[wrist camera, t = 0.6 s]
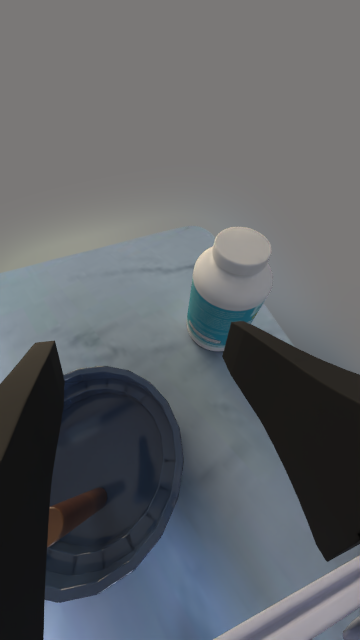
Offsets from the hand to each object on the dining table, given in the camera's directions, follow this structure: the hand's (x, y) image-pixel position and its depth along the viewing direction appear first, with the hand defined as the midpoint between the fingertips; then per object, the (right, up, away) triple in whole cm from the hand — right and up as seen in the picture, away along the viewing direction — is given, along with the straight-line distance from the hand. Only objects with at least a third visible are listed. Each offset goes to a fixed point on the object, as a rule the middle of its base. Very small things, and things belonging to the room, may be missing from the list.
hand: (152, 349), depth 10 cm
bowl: (-6, -12, +12) cm, 19 cm away
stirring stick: (-6, -14, +11) cm, 19 cm away
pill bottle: (+6, 0, +21) cm, 21 cm away
